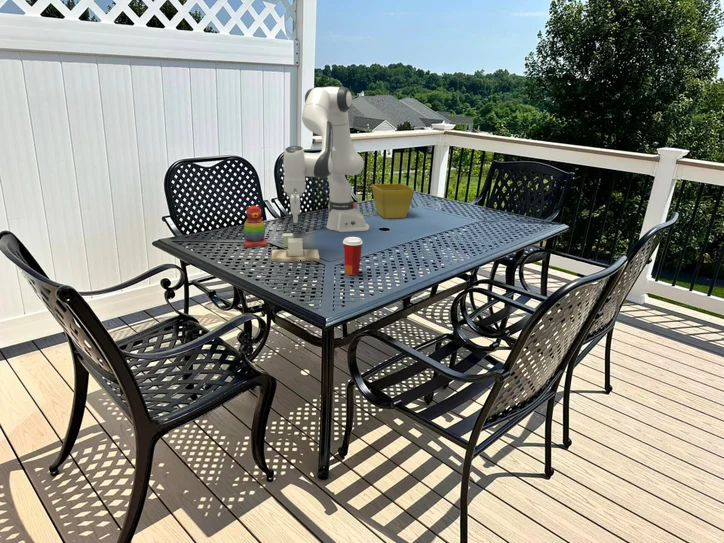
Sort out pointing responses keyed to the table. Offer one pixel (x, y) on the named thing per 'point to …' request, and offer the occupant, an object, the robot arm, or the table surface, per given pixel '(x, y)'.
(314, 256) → the base board
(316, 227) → the table surface
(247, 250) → the table surface
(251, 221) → the stacking bear
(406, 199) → the flower pot
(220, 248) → the table surface
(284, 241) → the sage cube
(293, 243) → the cream block
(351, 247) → the paper cup
